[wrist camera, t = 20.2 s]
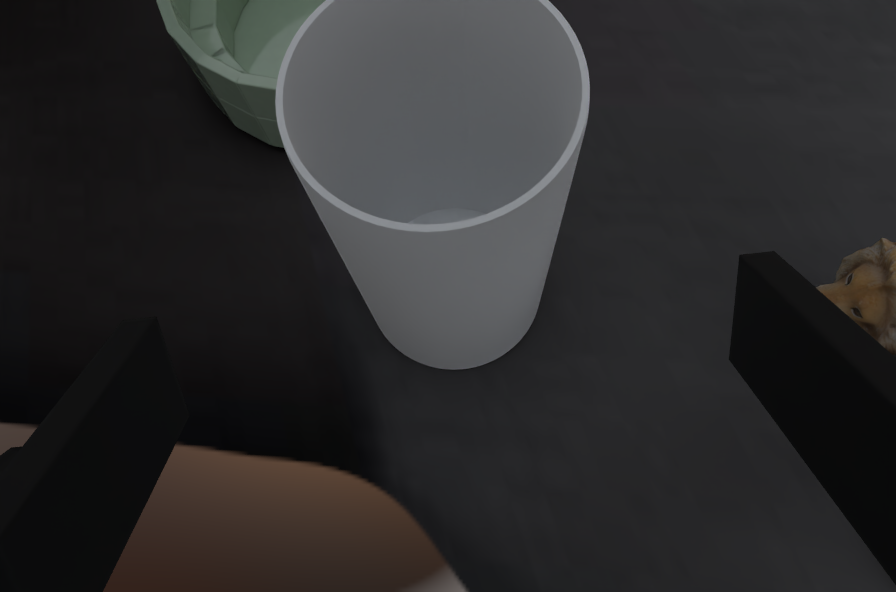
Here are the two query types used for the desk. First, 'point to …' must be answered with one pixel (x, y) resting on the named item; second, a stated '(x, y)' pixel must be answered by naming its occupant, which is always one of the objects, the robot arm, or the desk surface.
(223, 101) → the ceramic bowl
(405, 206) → the cup
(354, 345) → the desk surface
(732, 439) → the desk surface
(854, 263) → the lion figurine
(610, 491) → the desk surface
